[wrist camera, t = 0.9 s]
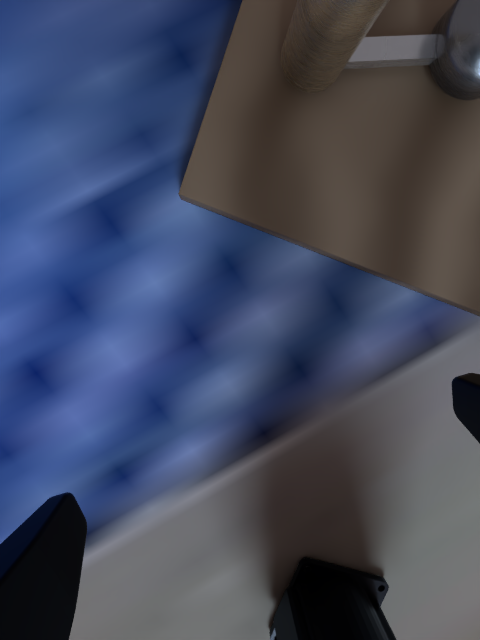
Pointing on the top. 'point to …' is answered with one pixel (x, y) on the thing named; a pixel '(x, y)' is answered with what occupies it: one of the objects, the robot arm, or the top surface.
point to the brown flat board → (346, 157)
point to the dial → (380, 45)
